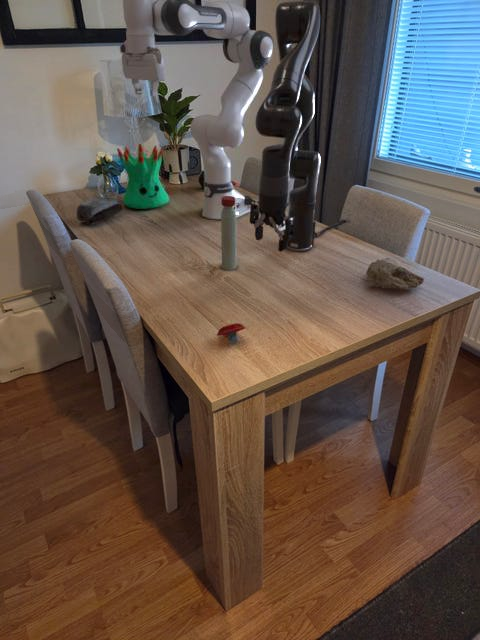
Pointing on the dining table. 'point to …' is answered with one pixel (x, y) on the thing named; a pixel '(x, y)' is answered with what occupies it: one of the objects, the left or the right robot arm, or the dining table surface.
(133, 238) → the dining table surface
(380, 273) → the artifact
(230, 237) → the bottle
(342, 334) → the dining table surface
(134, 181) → the toy
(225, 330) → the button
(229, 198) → the cap
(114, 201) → the rock
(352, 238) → the dining table surface
